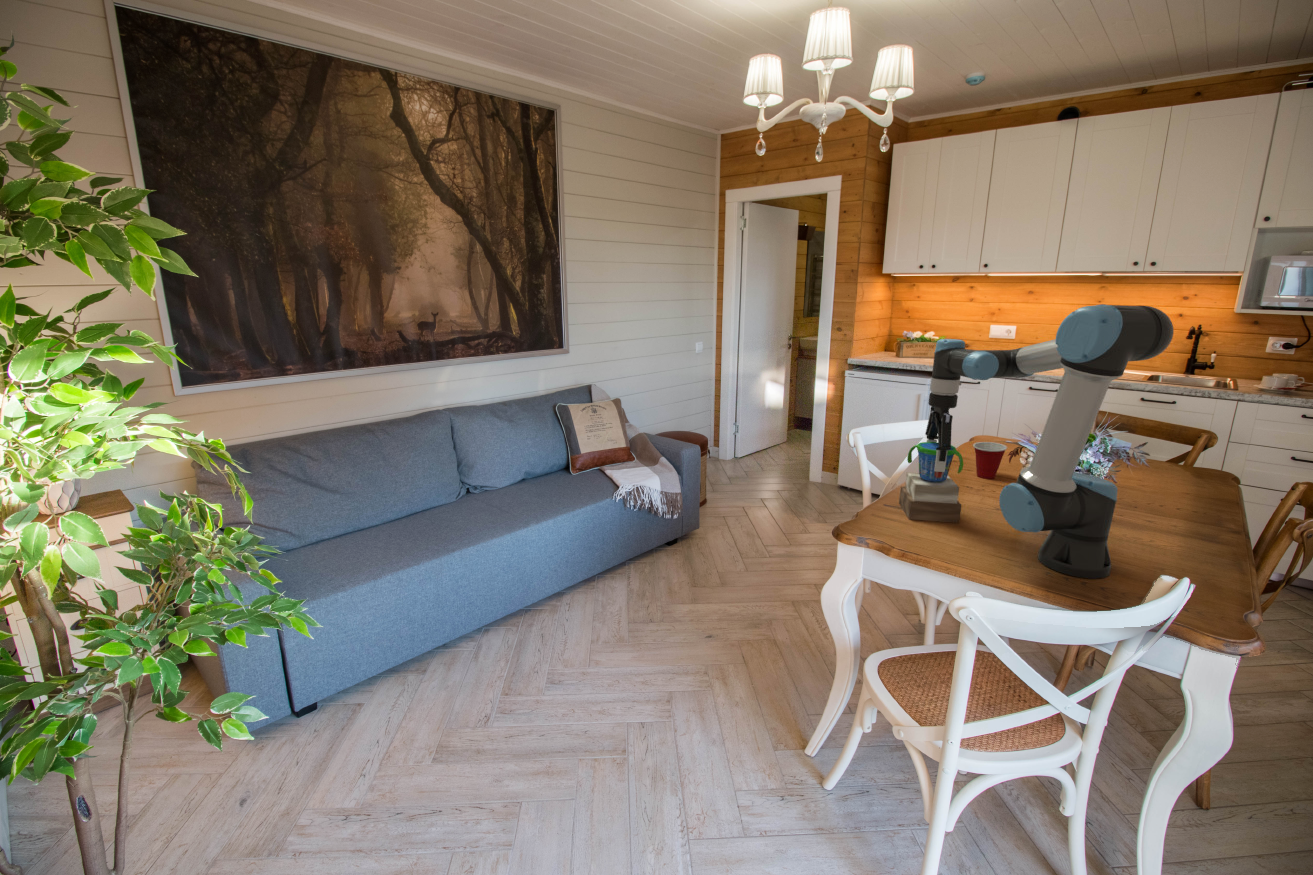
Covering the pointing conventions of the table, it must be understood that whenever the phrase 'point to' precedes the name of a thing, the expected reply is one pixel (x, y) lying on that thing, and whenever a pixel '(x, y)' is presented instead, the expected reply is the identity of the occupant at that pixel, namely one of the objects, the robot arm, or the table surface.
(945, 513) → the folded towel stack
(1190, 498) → the table surface
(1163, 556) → the table surface
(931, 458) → the snack cup
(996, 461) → the plastic cup
